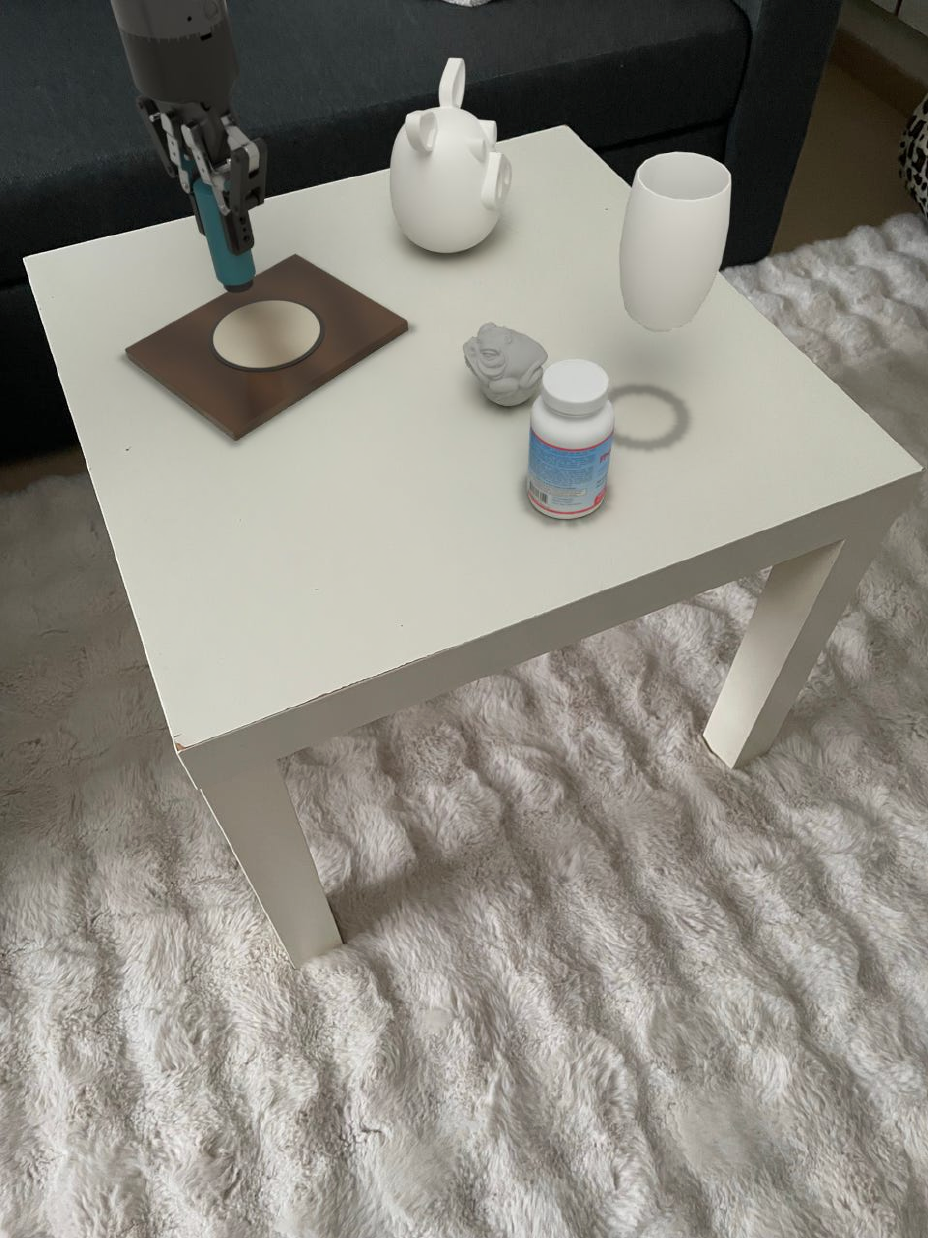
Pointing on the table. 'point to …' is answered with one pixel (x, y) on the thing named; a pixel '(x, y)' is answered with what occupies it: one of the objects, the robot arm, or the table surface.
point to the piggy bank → (448, 172)
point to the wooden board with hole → (265, 344)
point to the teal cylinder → (223, 243)
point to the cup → (673, 238)
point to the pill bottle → (570, 440)
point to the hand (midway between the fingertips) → (227, 240)
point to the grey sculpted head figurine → (505, 363)
